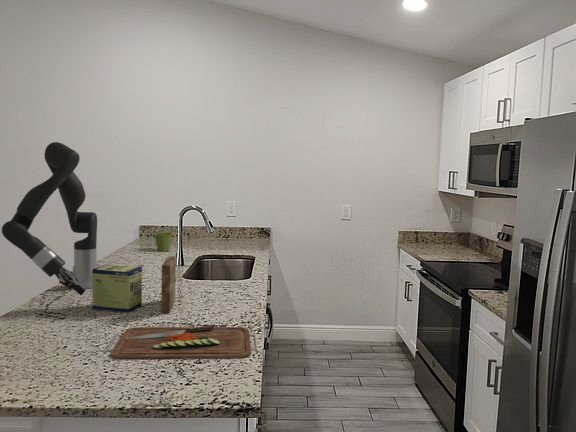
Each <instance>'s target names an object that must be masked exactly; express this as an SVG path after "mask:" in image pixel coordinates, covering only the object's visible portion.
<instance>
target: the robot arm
mask: <svg viewBox="0 0 576 432" xmlns="http://www.w3.org/2000/svg"><path fill="white" fill-rule="evenodd" d="M43 155H44V161H45V163H46V164H47V166H48V168H49V170H50V172H51V174H52V175H51V176H50V177H49V178H48V179H47V180H45V181H44V182H42V183H39V184H38V185H35V186H34V187H32V188H31V189H29V190H28V192H27V193H26V194H25V195H24V196H23V198H22V200H21V201H20V203H19V204H18V206H17V208H16V212H15V214H14V216H13V217H12V218H11V220H8V221H6V222H5V223H4V224H2V226H1V234H2V236H3V237H4V238H5V239H6V240H7V241H8V242H9V243H11V244H12V245H13V246H15V247H16V248H18V249H19V250H21V251H22V252H23V253H24V254H25V255H26V256H27V257H28V258H29V259H30V260H31V261H32V262H33V263H34V264H35V265H36V266H37V267H38V268H39V269H40V270H41V271H42V272H44V273H45V275H47V276H48V277H49V278H52V277H53V276H54V275H55V277H56V278H57V280H59V281H58V282H59V284H60V285H62V286H65V287H66V288H68V289H70V290H71V289H72V290H74V291H75V292H76V293H78V295H80V296H83V295H84V293H85V292H86V289H87V290H88V289H92V269H95V268H97V242H98V241H97V236H98V217H97V216H98V215H97V214H96V212H93V211H87V212H86V211H78V210H79V209H80V208H81V206H82V205H83V204H84V202H85V201H86V200H85V199H86V192H85V189H84V185H83V184H82V181H81V180H80V178H79V177H78V176H77V174H76V173H75V172H74V171H75V169H76V168H77V167H78V165H79V163H80V154H79V153H78V152H77V151H76V150H74V149H72V148H71V147H68V145H65V144H64V143H62V142H58V141H54V142H51V143H49V144H48V145H47V146H46V148H45V151H44V154H43ZM56 190H58V192H59V195H60V199H61V200H62V204H63V205H64V208H65V211H66V215H67V219H68V223H69V226H70V229H71V231H72V232H73V233H76V234H87V236H86V237H85V238H83V239H81V240H77V241H75V242H73V264H74V265H73V266H72V271H71V270H69V269H66V268H65V267H64V265H66V262H65V260H63V259H62V257H60V255H58V254H57V253H56V252H55V251H54V250H53V249H51V248H50V247H49V246H47V244H45V243H44V242H43V241H42V240H41V239H39V238H38V237H36V236H34V235H33V234H31V233H30V232H29V229H30V228H31V226H32V223H34V220H35V219H36V217H37V215H38V214H39V213H40V211H41V209H42V208H43V207H44V205H45V204H46V202H47V201H48V200H49V198H50V197H51V196H52V194H54V193H55V192H56Z"/></svg>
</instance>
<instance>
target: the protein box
mask: <svg viewBox="0 0 576 432" xmlns="http://www.w3.org/2000/svg"><path fill="white" fill-rule="evenodd" d="M91 289H92V291H91V293H92V294H91V295H92V296H91V297H92V298H91V299H92V305H91V309H92V310H99V311H106V312H107V311H109V312H120V313H127V314H128V313H130V312H132V311H134V310H136V309H138V308H141V307H142V306H143V303H142V302H143V266H135V265H134V266H133V265H120V264H118V265H117V264H105V265H102V266H101V265H100V266H97V267H96V268H95V269H92V288H91Z"/></svg>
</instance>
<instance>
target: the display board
mask: <svg viewBox="0 0 576 432" xmlns="http://www.w3.org/2000/svg"><path fill="white" fill-rule="evenodd" d="M176 264H177V256H176V255H172V256H169V255H168V256H167V257H166V259H165V260H164V262H163V263H162V264H161V298H160V299H161V303H160V304H161V307H160V308H161V309H160V310H161V311H160V312H161V314H170V313H171V311H172V309H173V306H174V304H175V301H176V276H177V275H176V273H177V272H176V268H177V265H176Z"/></svg>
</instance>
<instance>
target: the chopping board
mask: <svg viewBox="0 0 576 432" xmlns="http://www.w3.org/2000/svg"><path fill="white" fill-rule="evenodd" d="M118 337H120V339H119V340H118V342H117V343H116V345H115V346H114V348H112V349H111V347H112V346H113V344H114V343H115V341H116V340H117V338H118ZM251 337H253V339H254V340H253V341H254V347H255V348H251ZM258 345H259V343H258V338H257V333H256V332H253V334H251V333H250V330H249V328H247V327H242V326H241V327H240V326H238V327H237V326H234V327H233V326H224V327H223V326H218V327H217V326H215V325H207V326H206V325H205V326H188V327H187V326H185V327H184V326H183V327H182V326H167V327H166V326H165V327H164V326H162V327H160V326H158V327H157V326H155V327H154V326H152V327H151V326H147V327H146V326H141V327H140V326H138V327H137V326H136V327H135V326H134V327H131V328H127V329H126V330H125V332H124V333H123V334H120V333H119V332H117V333H116V334H115V336H114V337H113V339H111V341H110V343H109V344H108V345H107V347H106V348H105V350H104V351H103V352H104V353H108V352H111V354H110V355H111V356H110V357H111V358H112V359H116V360H157V359H160V360H161V359H163V360H167V359H168V360H170V359H171V360H174V359H175V360H176V359H180V360H182V359H184V360H186V359H188V360H189V359H246V358H249V357H250V356H251V355H252V351H255V352H259V346H258Z"/></svg>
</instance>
